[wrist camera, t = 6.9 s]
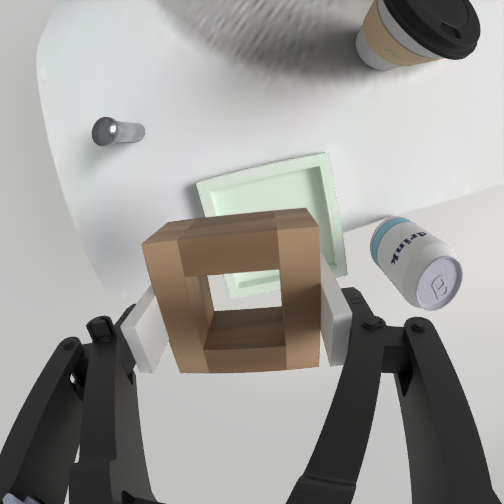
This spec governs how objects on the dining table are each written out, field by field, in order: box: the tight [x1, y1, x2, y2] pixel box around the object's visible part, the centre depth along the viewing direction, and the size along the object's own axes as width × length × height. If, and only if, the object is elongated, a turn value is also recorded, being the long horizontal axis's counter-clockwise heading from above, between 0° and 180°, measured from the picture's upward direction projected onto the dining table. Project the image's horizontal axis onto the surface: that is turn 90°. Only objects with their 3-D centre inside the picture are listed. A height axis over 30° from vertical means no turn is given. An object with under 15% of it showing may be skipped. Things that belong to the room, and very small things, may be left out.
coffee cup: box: [355, 0, 480, 70], centre depth 16 cm, size 9×9×15 cm
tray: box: [196, 152, 347, 299], centre depth 31 cm, size 14×14×2 cm
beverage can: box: [370, 217, 463, 311], centre depth 26 cm, size 7×7×12 cm
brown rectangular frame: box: [141, 208, 321, 373], centre depth 15 cm, size 10×8×4 cm
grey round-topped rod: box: [92, 117, 145, 146], centre depth 25 cm, size 3×3×8 cm
